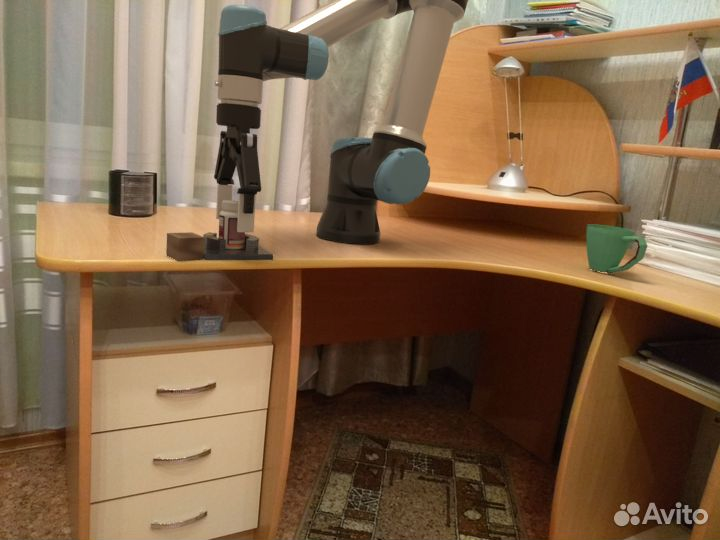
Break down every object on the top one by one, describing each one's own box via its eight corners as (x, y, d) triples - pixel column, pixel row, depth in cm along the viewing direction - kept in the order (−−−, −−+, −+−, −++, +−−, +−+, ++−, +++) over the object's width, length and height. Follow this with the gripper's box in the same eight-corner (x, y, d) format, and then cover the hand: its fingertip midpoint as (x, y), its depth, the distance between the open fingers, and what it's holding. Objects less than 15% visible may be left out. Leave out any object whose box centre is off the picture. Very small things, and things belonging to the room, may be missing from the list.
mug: (568, 266, 125) (577, 223, 123) (600, 266, 129) (609, 225, 127) (620, 282, 112) (630, 235, 110) (653, 283, 116) (664, 237, 114)
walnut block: (191, 254, 95) (192, 232, 94) (203, 260, 92) (204, 237, 91) (166, 256, 92) (166, 233, 91) (178, 262, 89) (179, 238, 88)
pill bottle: (248, 247, 102) (251, 202, 100) (237, 251, 97) (240, 204, 95) (224, 243, 102) (227, 199, 101) (213, 247, 98) (215, 200, 96)
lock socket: (251, 246, 108) (252, 229, 107) (272, 259, 98) (274, 241, 97) (189, 245, 102) (190, 228, 101) (205, 260, 92) (206, 240, 91)
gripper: (200, 102, 103) (197, 213, 108) (239, 99, 82) (233, 238, 87) (239, 107, 107) (234, 214, 111) (286, 105, 86) (277, 238, 90)
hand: (233, 225), depth 99 cm, fingers open, 13 cm apart
